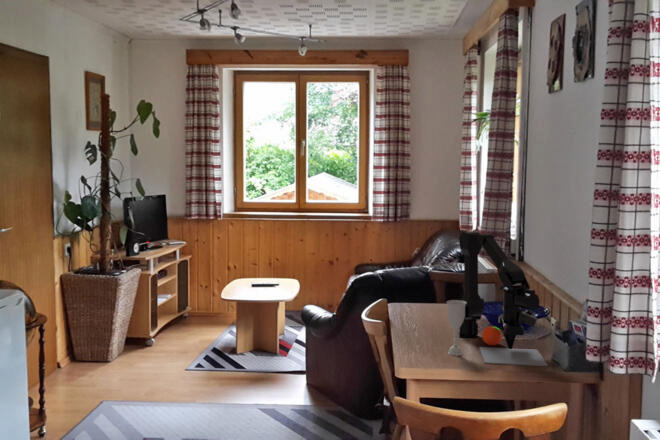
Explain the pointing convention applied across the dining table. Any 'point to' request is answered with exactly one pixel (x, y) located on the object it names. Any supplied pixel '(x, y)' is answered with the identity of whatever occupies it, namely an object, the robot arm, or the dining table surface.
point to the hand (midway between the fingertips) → (510, 348)
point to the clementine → (492, 335)
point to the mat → (512, 356)
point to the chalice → (456, 322)
